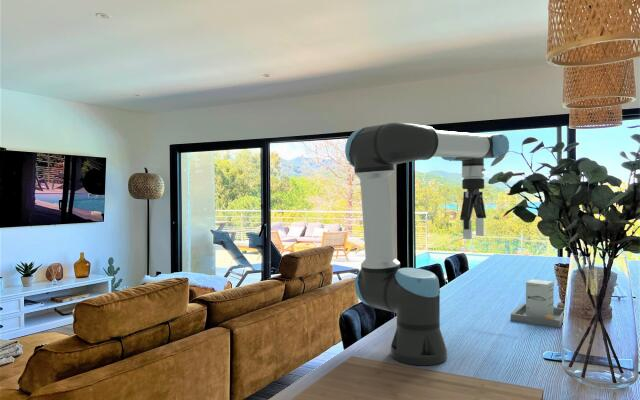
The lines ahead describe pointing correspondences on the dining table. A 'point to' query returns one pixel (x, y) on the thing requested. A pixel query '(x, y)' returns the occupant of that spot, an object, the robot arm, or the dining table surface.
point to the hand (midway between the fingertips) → (473, 237)
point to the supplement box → (539, 298)
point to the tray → (522, 317)
